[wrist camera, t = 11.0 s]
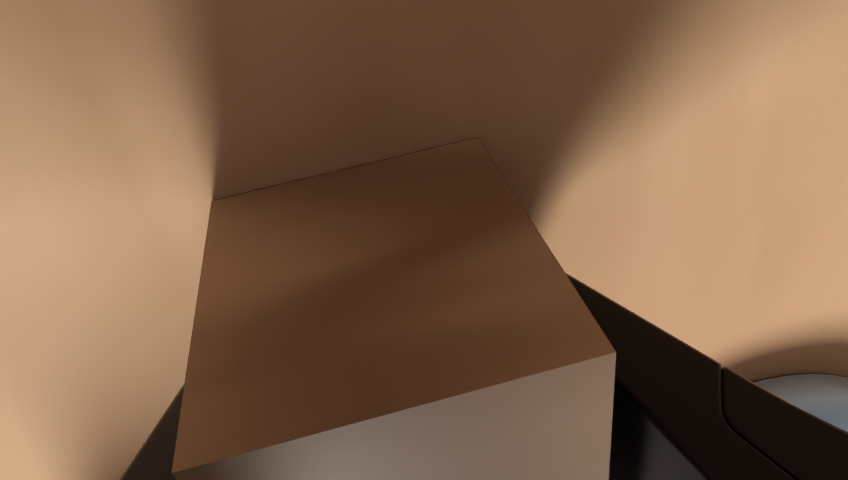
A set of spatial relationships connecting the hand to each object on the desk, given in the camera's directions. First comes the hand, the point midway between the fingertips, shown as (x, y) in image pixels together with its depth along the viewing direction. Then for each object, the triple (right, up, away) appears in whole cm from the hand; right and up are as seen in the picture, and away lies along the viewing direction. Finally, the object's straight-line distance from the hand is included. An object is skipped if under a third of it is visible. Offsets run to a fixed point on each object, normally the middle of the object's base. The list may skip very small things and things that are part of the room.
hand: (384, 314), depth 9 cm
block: (0, +1, +1) cm, 1 cm away
